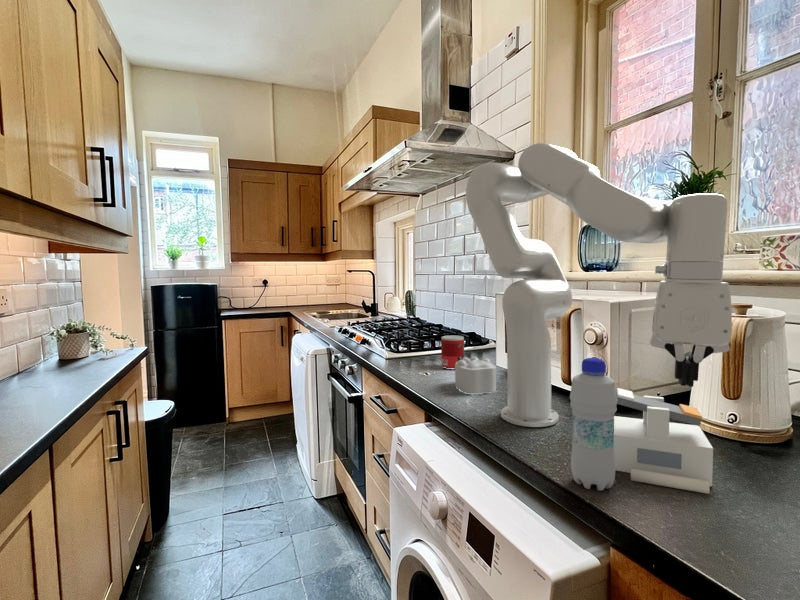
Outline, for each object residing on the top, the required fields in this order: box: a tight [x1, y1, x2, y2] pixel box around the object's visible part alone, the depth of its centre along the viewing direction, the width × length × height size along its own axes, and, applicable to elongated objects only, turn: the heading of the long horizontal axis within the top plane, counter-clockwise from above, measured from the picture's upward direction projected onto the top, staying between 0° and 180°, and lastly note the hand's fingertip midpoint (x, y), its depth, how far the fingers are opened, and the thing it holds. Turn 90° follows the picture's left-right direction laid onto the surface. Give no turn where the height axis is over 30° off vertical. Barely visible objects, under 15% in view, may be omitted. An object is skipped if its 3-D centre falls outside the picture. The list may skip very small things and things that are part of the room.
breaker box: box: [614, 395, 714, 487], centre depth 70 cm, size 10×14×11 cm
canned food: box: [440, 334, 465, 368], centre depth 144 cm, size 8×8×11 cm
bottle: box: [569, 357, 618, 492], centre depth 64 cm, size 7×7×20 cm
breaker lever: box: [616, 387, 703, 427], centre depth 70 cm, size 5×12×2 cm, turn 64°
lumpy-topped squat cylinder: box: [454, 356, 497, 393], centre depth 119 cm, size 10×13×9 cm
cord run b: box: [630, 468, 711, 494], centre depth 63 cm, size 10×2×2 cm, turn 64°
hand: (685, 383), depth 68 cm, fingers closed
